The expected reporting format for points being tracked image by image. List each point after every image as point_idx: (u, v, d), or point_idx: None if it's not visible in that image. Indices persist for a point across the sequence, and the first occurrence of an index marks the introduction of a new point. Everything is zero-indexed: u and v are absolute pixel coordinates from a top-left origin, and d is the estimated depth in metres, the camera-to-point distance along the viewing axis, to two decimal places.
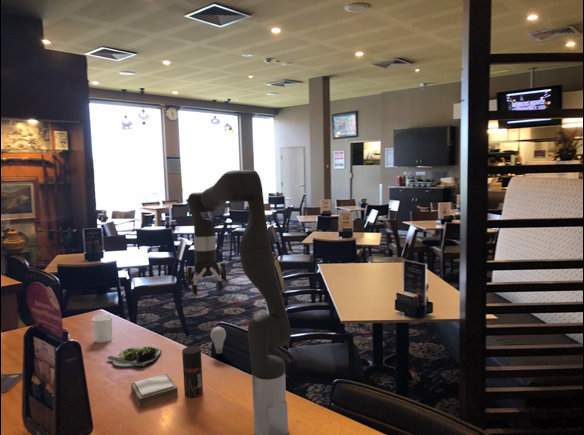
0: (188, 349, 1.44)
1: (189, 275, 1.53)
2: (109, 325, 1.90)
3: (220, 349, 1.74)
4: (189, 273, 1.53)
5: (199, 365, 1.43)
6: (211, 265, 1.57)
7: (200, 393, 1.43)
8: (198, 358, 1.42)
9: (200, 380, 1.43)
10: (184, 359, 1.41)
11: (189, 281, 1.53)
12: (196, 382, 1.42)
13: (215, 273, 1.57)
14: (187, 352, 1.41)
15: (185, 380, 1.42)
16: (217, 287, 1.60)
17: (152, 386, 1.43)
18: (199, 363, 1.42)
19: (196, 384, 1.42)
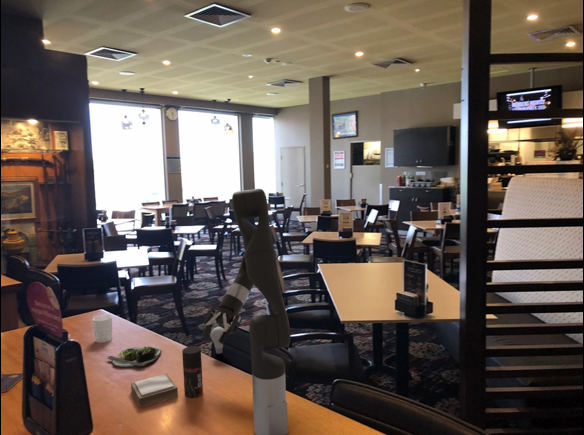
0: (188, 349, 1.44)
1: (208, 315, 1.57)
2: (109, 325, 1.90)
3: (220, 349, 1.74)
4: (209, 313, 1.57)
5: (199, 365, 1.43)
6: (227, 313, 1.53)
7: (200, 393, 1.43)
8: (198, 358, 1.42)
9: (200, 380, 1.43)
10: (184, 359, 1.41)
11: (205, 320, 1.56)
12: (196, 382, 1.42)
13: (225, 321, 1.50)
14: (187, 352, 1.41)
15: (185, 380, 1.42)
16: None
17: (152, 386, 1.43)
18: (199, 363, 1.42)
19: (196, 384, 1.42)
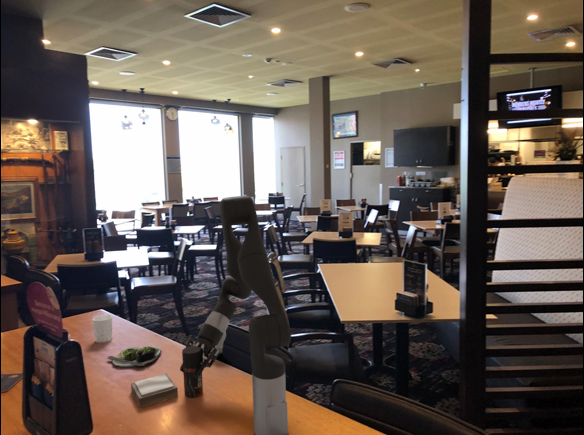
0: (187, 349, 1.44)
1: None
2: (109, 325, 1.90)
3: (220, 349, 1.74)
4: (187, 345, 1.50)
5: None
6: (206, 344, 1.46)
7: (200, 393, 1.43)
8: (198, 358, 1.42)
9: (200, 380, 1.43)
10: (184, 359, 1.41)
11: None
12: (196, 382, 1.42)
13: (202, 353, 1.44)
14: (187, 352, 1.41)
15: (185, 380, 1.42)
16: None
17: (152, 386, 1.43)
18: None
19: (196, 384, 1.42)
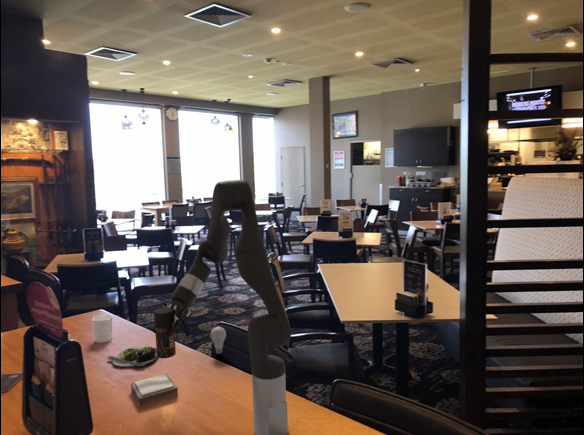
0: (160, 309, 1.43)
1: None
2: (109, 325, 1.90)
3: (220, 349, 1.74)
4: (160, 307, 1.49)
5: None
6: (179, 305, 1.45)
7: (172, 354, 1.43)
8: (169, 319, 1.41)
9: (172, 341, 1.43)
10: (155, 319, 1.41)
11: None
12: (168, 342, 1.41)
13: (173, 314, 1.43)
14: (158, 312, 1.41)
15: (157, 340, 1.42)
16: None
17: (152, 386, 1.43)
18: None
19: (168, 344, 1.42)
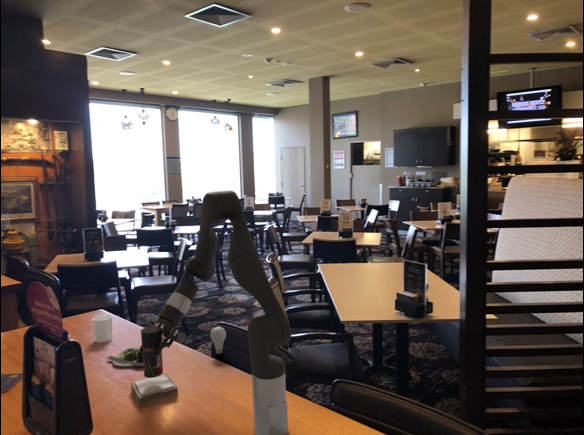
0: (147, 329, 1.43)
1: None
2: (109, 325, 1.90)
3: (220, 349, 1.74)
4: (148, 326, 1.49)
5: None
6: (166, 324, 1.45)
7: (159, 373, 1.43)
8: (156, 338, 1.41)
9: (159, 360, 1.43)
10: (142, 339, 1.41)
11: None
12: (155, 362, 1.41)
13: (161, 333, 1.43)
14: (145, 332, 1.41)
15: (144, 360, 1.42)
16: None
17: (152, 386, 1.43)
18: None
19: (155, 363, 1.42)
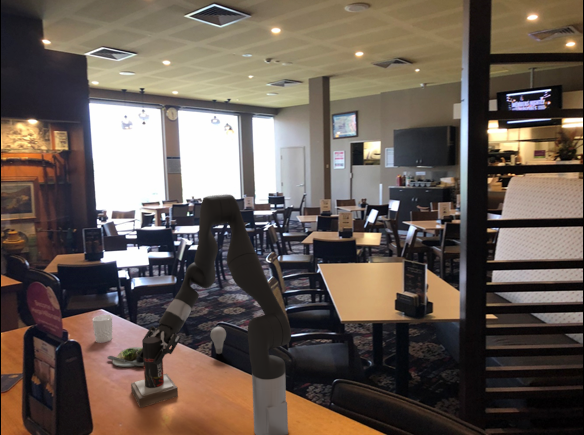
0: (148, 339, 1.44)
1: (147, 333, 1.49)
2: (109, 325, 1.90)
3: (220, 349, 1.74)
4: (148, 331, 1.50)
5: None
6: (166, 331, 1.46)
7: (160, 383, 1.43)
8: (157, 348, 1.42)
9: (160, 370, 1.43)
10: (144, 349, 1.41)
11: None
12: (156, 372, 1.42)
13: (162, 340, 1.43)
14: (147, 342, 1.41)
15: (145, 370, 1.42)
16: None
17: None
18: None
19: (156, 374, 1.42)
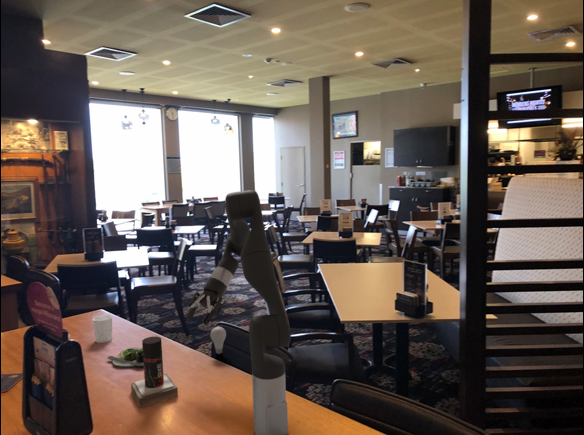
0: (148, 339, 1.44)
1: (192, 298, 1.60)
2: (109, 325, 1.90)
3: (220, 349, 1.74)
4: (193, 296, 1.60)
5: (159, 355, 1.42)
6: (211, 296, 1.56)
7: (160, 383, 1.43)
8: (157, 349, 1.42)
9: (160, 370, 1.43)
10: (144, 349, 1.41)
11: (189, 303, 1.59)
12: (156, 372, 1.42)
13: (208, 303, 1.54)
14: (147, 342, 1.41)
15: (145, 370, 1.42)
16: None
17: None
18: (159, 353, 1.42)
19: (156, 374, 1.42)
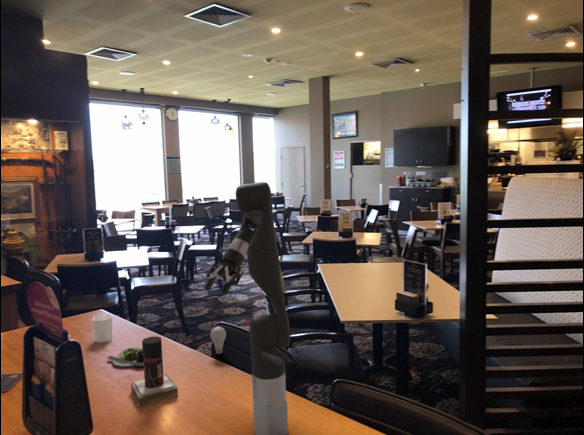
0: (148, 339, 1.44)
1: (210, 269, 1.61)
2: (109, 325, 1.90)
3: (220, 349, 1.74)
4: (211, 267, 1.61)
5: (159, 355, 1.42)
6: (229, 266, 1.57)
7: (160, 383, 1.43)
8: (157, 349, 1.42)
9: (160, 370, 1.43)
10: (144, 349, 1.41)
11: (207, 274, 1.60)
12: (156, 372, 1.42)
13: (227, 273, 1.54)
14: (147, 342, 1.41)
15: (145, 370, 1.42)
16: None
17: None
18: (159, 353, 1.42)
19: (156, 374, 1.42)
